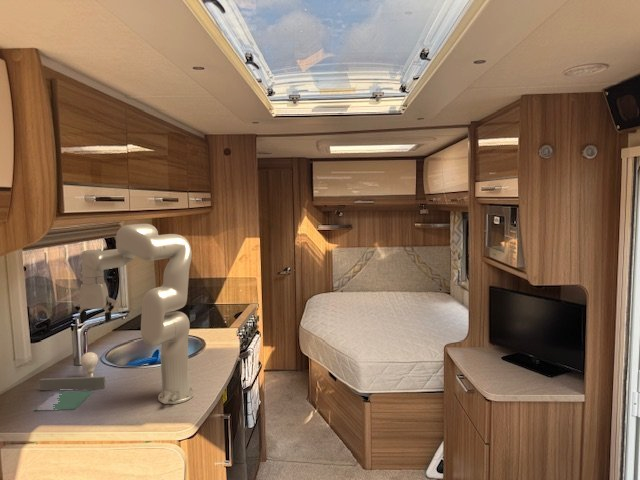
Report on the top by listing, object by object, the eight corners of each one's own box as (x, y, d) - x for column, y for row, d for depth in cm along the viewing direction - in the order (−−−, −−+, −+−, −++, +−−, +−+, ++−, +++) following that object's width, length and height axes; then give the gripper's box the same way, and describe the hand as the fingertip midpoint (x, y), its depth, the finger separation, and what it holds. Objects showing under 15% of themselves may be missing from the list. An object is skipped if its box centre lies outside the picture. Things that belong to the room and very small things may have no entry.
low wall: (104, 388, 166) (103, 377, 166) (40, 391, 165) (39, 380, 165) (105, 387, 168) (105, 376, 167) (42, 389, 166) (41, 378, 166)
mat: (74, 409, 150) (74, 408, 150) (33, 411, 149) (33, 410, 149) (93, 391, 164) (93, 390, 164) (55, 393, 163) (55, 392, 163)
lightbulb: (83, 376, 178) (81, 351, 177) (100, 374, 180) (98, 348, 179) (80, 382, 172) (79, 356, 171) (98, 380, 175) (96, 353, 174)
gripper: (66, 282, 171) (69, 324, 172) (111, 281, 171) (113, 323, 173) (76, 278, 178) (79, 319, 180) (119, 278, 179) (121, 318, 180)
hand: (95, 321), depth 176 cm, fingers open, 9 cm apart
